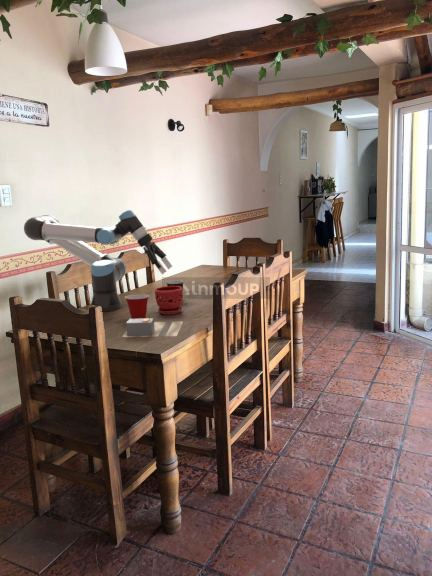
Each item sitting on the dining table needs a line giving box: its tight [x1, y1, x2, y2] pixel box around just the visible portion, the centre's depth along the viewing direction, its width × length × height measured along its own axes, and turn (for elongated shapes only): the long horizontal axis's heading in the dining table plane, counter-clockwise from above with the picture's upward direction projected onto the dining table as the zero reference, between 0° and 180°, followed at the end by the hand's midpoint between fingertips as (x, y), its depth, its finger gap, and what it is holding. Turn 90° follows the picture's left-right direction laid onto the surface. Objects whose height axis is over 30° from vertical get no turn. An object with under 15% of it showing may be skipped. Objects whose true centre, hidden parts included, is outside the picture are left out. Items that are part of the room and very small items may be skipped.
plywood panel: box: [121, 321, 184, 338], centre depth 199 cm, size 22×20×2 cm
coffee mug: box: [166, 279, 184, 297], centre depth 251 cm, size 12×9×10 cm
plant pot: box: [154, 285, 184, 315], centre depth 228 cm, size 13×13×12 cm
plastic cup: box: [124, 293, 150, 319], centre depth 215 cm, size 11×11×12 cm
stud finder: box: [125, 317, 155, 336], centre depth 192 cm, size 10×6×6 cm, turn 87°
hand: (167, 270), depth 247 cm, fingers open, 13 cm apart
